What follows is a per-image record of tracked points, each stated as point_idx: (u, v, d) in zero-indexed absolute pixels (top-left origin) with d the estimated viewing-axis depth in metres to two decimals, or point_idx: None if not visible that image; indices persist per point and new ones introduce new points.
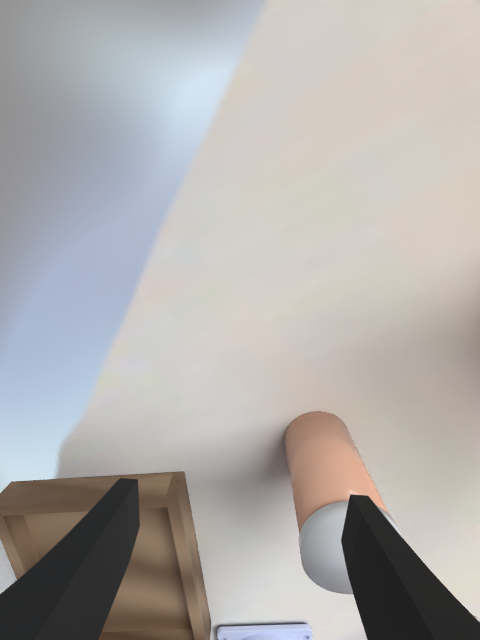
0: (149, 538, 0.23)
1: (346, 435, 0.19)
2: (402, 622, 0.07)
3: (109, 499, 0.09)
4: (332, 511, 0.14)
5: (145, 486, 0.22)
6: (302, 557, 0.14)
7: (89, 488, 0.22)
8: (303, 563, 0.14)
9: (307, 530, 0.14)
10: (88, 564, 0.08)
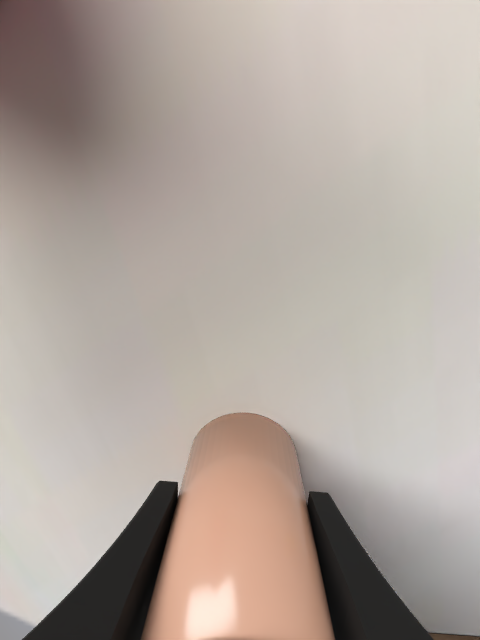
0: None
1: (197, 459, 0.11)
2: (343, 618, 0.07)
3: (154, 502, 0.09)
4: None
5: None
6: None
7: None
8: None
9: None
10: (143, 568, 0.07)
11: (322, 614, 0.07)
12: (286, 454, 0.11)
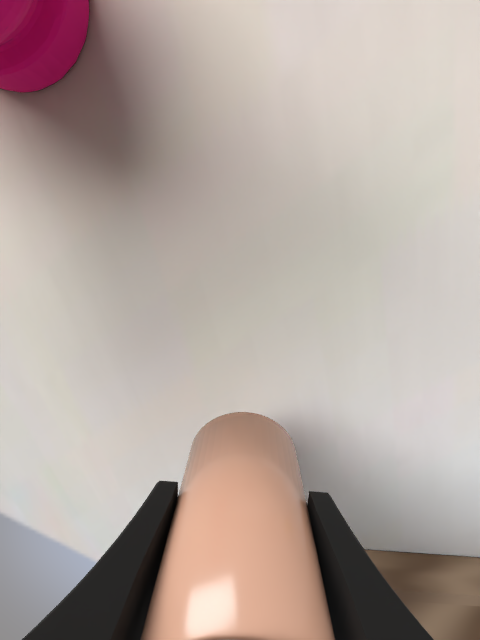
0: None
1: (197, 459, 0.11)
2: (343, 618, 0.07)
3: (154, 502, 0.09)
4: None
5: None
6: None
7: None
8: None
9: None
10: (143, 568, 0.07)
11: (321, 612, 0.07)
12: (286, 453, 0.11)
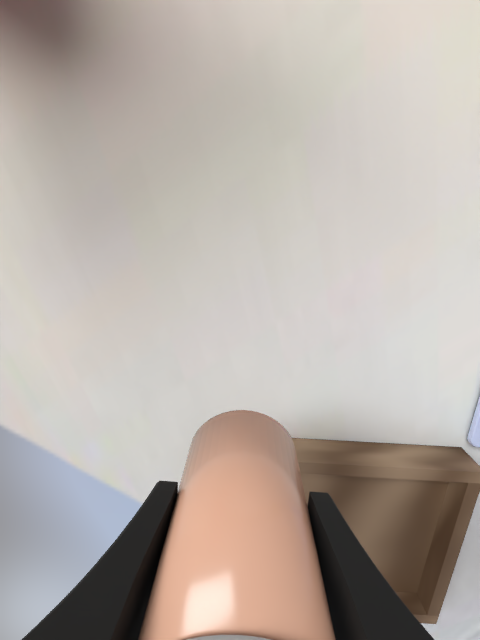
0: None
1: (194, 458, 0.11)
2: (344, 618, 0.07)
3: (153, 502, 0.09)
4: None
5: None
6: None
7: None
8: None
9: None
10: (143, 568, 0.07)
11: (319, 606, 0.07)
12: (284, 450, 0.11)
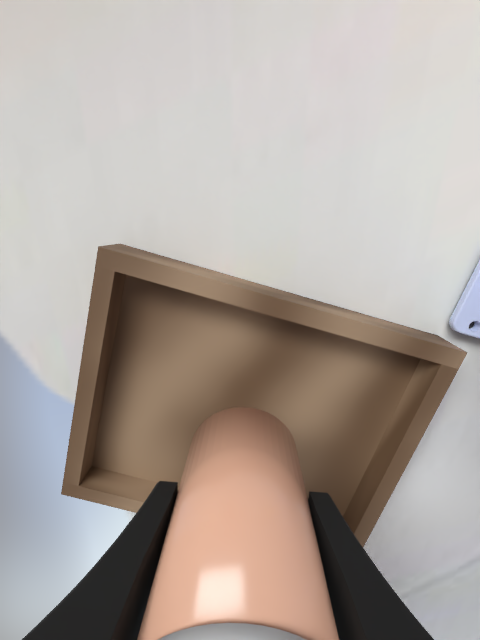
0: (206, 341, 0.15)
1: (192, 457, 0.11)
2: (343, 618, 0.07)
3: (154, 502, 0.09)
4: None
5: None
6: None
7: None
8: None
9: None
10: (143, 568, 0.07)
11: (316, 593, 0.07)
12: (281, 443, 0.11)
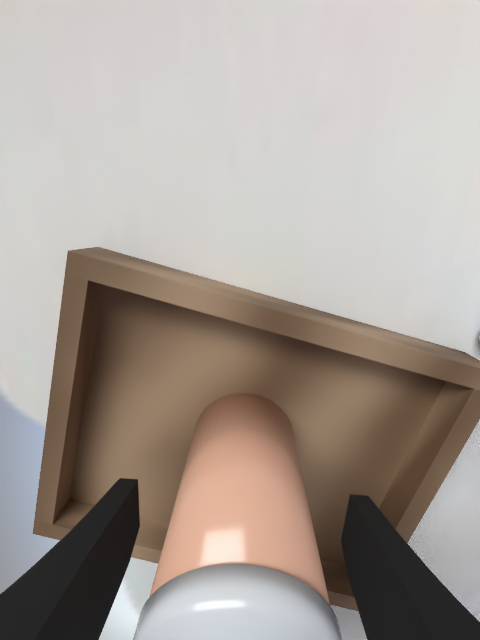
0: (199, 359, 0.13)
1: (197, 437, 0.12)
2: (402, 622, 0.07)
3: (109, 499, 0.09)
4: None
5: None
6: None
7: None
8: None
9: None
10: (88, 564, 0.08)
11: (306, 546, 0.08)
12: (278, 425, 0.12)
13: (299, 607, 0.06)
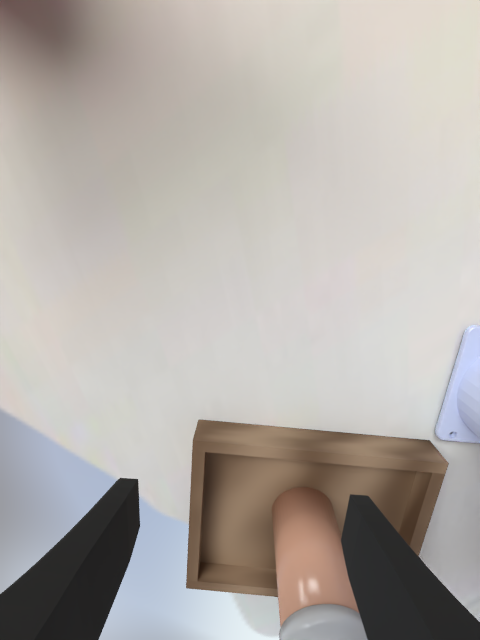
0: (267, 472, 0.22)
1: (277, 523, 0.21)
2: (402, 622, 0.07)
3: (109, 499, 0.09)
4: None
5: None
6: None
7: None
8: None
9: None
10: (88, 564, 0.08)
11: (348, 588, 0.16)
12: (322, 509, 0.21)
13: (348, 619, 0.15)
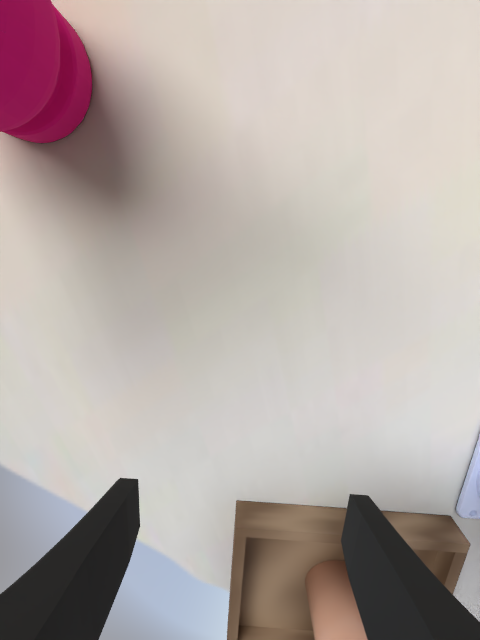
0: (301, 548, 0.24)
1: (314, 599, 0.22)
2: (402, 622, 0.07)
3: (109, 499, 0.09)
4: None
5: None
6: None
7: None
8: None
9: None
10: (88, 564, 0.08)
11: None
12: None
13: None
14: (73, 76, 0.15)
